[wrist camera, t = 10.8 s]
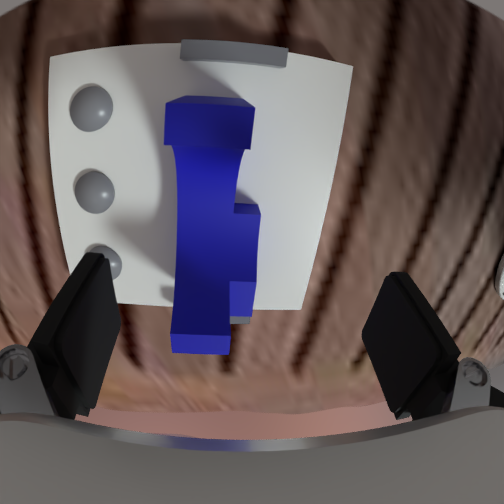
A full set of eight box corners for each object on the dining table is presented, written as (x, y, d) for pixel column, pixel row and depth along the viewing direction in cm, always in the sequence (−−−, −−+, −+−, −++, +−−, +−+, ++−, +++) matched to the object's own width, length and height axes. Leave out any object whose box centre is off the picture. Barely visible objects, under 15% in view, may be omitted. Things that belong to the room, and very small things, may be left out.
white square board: (340, 66, 15) (364, 65, 12) (295, 293, 24) (305, 323, 21) (65, 57, 13) (36, 56, 10) (84, 283, 22) (70, 312, 19)
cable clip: (247, 286, 21) (256, 354, 16) (180, 283, 20) (172, 352, 15) (271, 101, 15) (299, 113, 10) (185, 95, 14) (165, 103, 9)
